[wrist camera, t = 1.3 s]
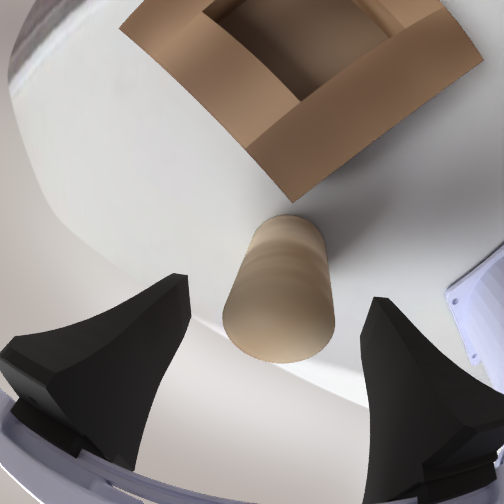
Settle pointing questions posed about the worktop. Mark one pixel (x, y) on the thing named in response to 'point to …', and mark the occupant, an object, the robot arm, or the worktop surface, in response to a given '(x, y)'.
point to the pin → (282, 293)
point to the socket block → (305, 71)
